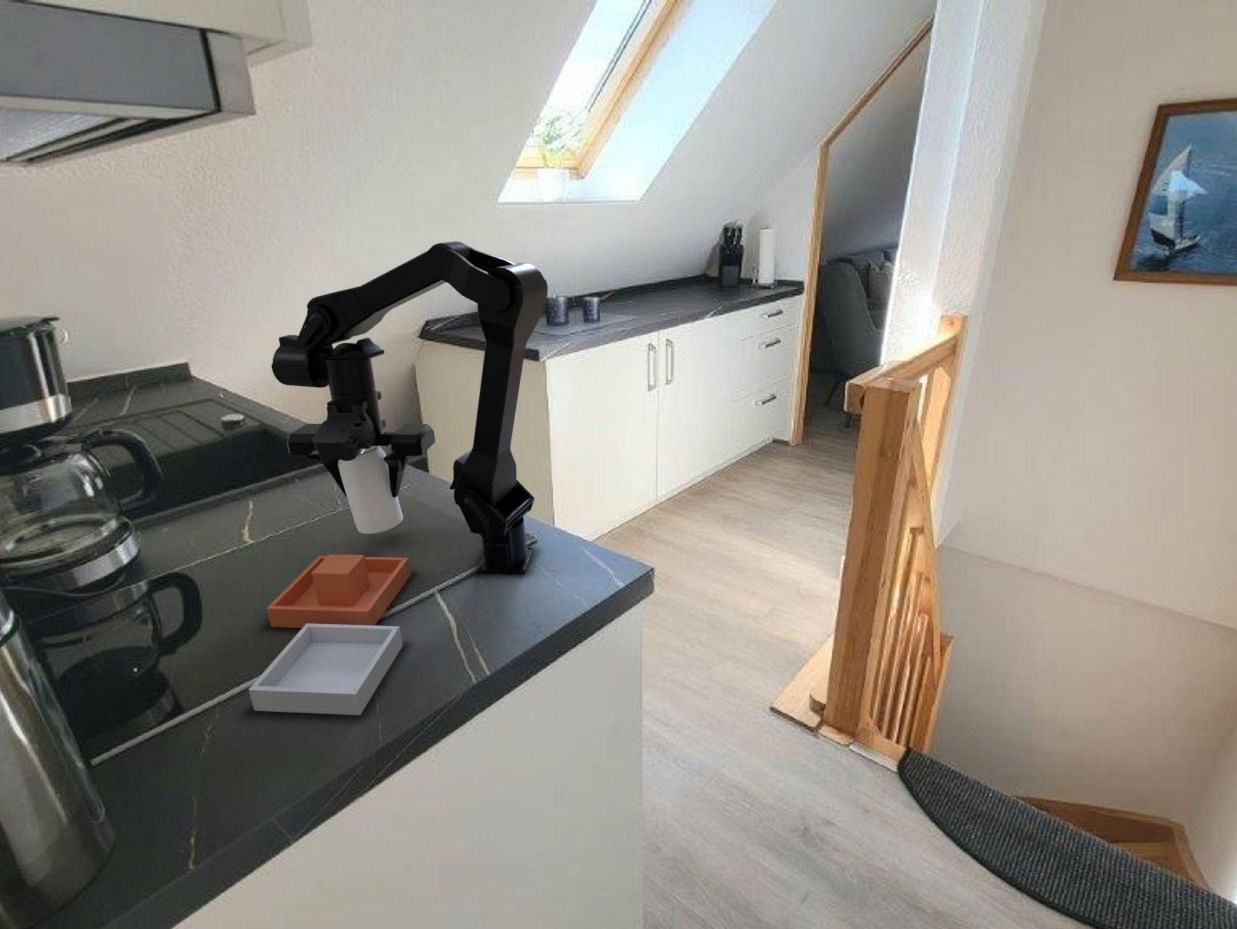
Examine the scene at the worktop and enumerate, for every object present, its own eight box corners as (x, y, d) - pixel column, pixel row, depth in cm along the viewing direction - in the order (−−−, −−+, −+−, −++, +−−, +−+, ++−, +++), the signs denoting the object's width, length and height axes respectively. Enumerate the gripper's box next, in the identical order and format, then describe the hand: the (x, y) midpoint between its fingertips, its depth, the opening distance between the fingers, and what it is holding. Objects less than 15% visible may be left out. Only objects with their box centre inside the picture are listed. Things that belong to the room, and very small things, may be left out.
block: (336, 584, 83) (329, 554, 82) (370, 585, 83) (364, 554, 81) (318, 604, 79) (311, 572, 77) (354, 606, 79) (347, 573, 77)
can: (409, 513, 97) (388, 438, 93) (396, 533, 91) (374, 453, 87) (366, 519, 97) (344, 444, 93) (351, 539, 91) (326, 459, 87)
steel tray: (310, 642, 73) (306, 623, 72) (403, 645, 72) (399, 626, 71) (254, 711, 63) (248, 689, 62) (360, 715, 62) (355, 694, 61)
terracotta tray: (322, 572, 87) (319, 555, 86) (411, 574, 86) (408, 557, 85) (270, 627, 76) (266, 608, 75) (371, 630, 75) (368, 611, 74)
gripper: (250, 406, 80) (277, 520, 86) (397, 407, 79) (414, 522, 84) (298, 383, 90) (319, 486, 96) (429, 383, 89) (442, 488, 95)
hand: (371, 496), depth 93 cm, fingers closed on can, 6 cm apart
